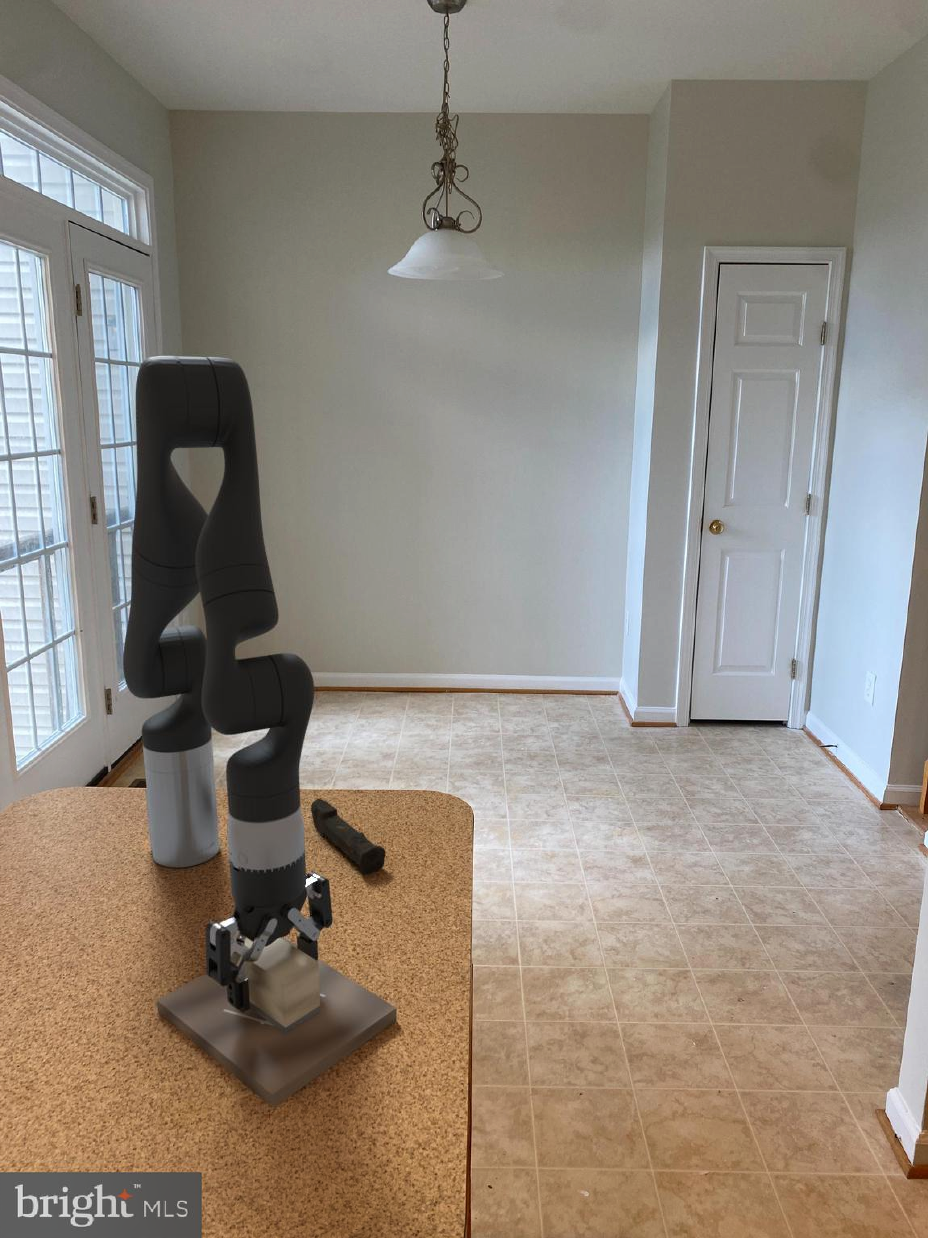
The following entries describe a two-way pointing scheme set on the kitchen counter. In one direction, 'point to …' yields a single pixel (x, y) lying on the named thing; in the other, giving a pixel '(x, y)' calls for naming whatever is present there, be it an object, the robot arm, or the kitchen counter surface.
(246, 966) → the robot arm
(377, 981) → the kitchen counter surface
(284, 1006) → the block
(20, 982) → the kitchen counter surface
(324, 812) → the hand tool
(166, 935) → the kitchen counter surface
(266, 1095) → the walnut board
